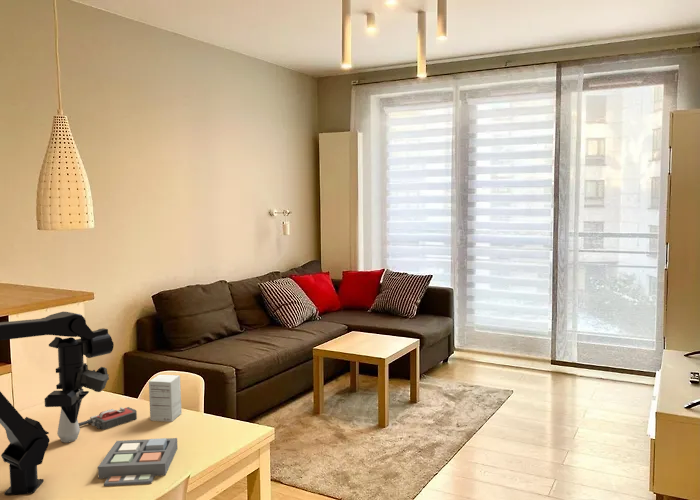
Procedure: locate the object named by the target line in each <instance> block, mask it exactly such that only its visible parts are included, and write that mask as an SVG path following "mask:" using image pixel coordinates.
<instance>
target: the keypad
mask: <svg viewBox="0 0 700 500" xmlns="http://www.w3.org/2000/svg"><path fill="white" fill-rule="evenodd" d="M150 439H151V438H149V439H130V440H128V439H127V440H124V439H123V440H116V441H115V442H114V444H113V445H112V446H111V448H110V449H109V450H108V452H107V454H106V455H105V457H103V459H102V461H101V462H100V463H99V464H98V466H97V473H98V474H97V476H98V480H102V479H105V481H104V483H103V486H104V487H109V486H126V485H128V486H131V485H146V484H147V485H149V484H152V483H153V481H154V479H155V477H157V476H167V473H168V471H169V469H170V466H171V464H172V462H173V459H174V457H175V455H176V452H177V450H178V438H177V437H175V438H174V437H170V438H169V437H168V438H167V446H166V448H165V450H148V451H146V445H147V443H148V441H149V440H150ZM123 443H140V449H139V451H127V452H118V450H119V449H120V447H121V446H122V444H123ZM157 452H161V461H155V462H139V460H140V459H141V457H142V455H143V453H157ZM117 454H133V460H132V462H131V463H115V464H110V462H111V460H112V459H113V458H114V456H115V455H117Z"/></svg>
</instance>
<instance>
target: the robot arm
mask: <svg viewBox="0 0 700 500" xmlns="http://www.w3.org/2000/svg"><path fill="white" fill-rule="evenodd" d="M41 336H55V337H54V339H53V340H52V341H50V343H49V344H48V347H49V348H52V349H53V348H54V349H57V356H58V357H57V360H58V366H57V367H56V368H55V374H58V381H59V382H58V383H57V384H56V386H55V387H56V388H55V389H56V390H53V391H52V392H51V393H49V394H48V395H47V396H46V397H44V407H45V408H57V407H58V408H60V409H61V408H62V410H63V411H64V413H65V414H66V416H67V418H68V419H69V421H70V422H71V423H75V422H76V421H77V420H78V417H79V413H80V408H81V404H82V401H83V399H84V398H85V397H86V396H87V395H88V394H89V393H90V391H89V390H84V388H85V389H90V390H93V392H95V393H101V392H102V391H103V390H104V389H105V388H106V386H107V384H108V380H110V376H109V375H110V374H108V369H107V367H103V366H100V367H98V369H97V370H95V369H93V370H91V369H89V366H88V364H87V362H86V363H85V361H84V356H85V357H86V358H87V359H91V358H96V357H99V356H104V355H109V354H111V353H112V352H113V350H114V341H113V339H112V336H111V334H109V330H108V329H107V328H104V327H103V328H98V329H97V330H92V329H91V328H90V327H89V325H88V324H87V321H86V318H85V317H84V316H83V314H80V313H77V312H76V313H74V312H70V311H60V312H55V313H53V314H50V315H47V316H44V317H41V318H35V319H24V320H13V321H1V322H0V341H7V340H15V339H24V338H32V337H41ZM62 337H66V338H62ZM75 338H77V339H75ZM0 425H1V426H2V428H3V429H4V430H5V434H6V438H7V440H8V442H9V444H8V445H7V447H6V448H5V449H4V451H3V452H2V453H1V454H0V455H1V458H2V460H3V462H4V463H7V464H8V467H9V468H8V469H9V482H10V483H9V484H10V486H9V487H8V488H7V489H5V491H4V496H5V495H7V496H9V495H25V494H27V495H29V494H33V493H35V492H36V490H38V488H39V487H40V486H41V485H42V484H43V483H44V481H45V480H44V478H38V466H39V465H43V461H44V457H45V455H46V451H47V449H48V447H49V443H50V442H51V441H50V438H49V436H48V435H49V434H50V432H49V431H47V430H45V429H44V427H43V425H42V423H40V421H38V420H36V419H33V418H30V417H29V416H25V417H23V416H22V415H21V414H20V412H19V411H18V410H17V409H16V408H15V407H14V406H13V404H12V403H11V402H10V401H9V400H8V399H7V398H6V396H5V395H4V394H3V392H2V391H0Z"/></svg>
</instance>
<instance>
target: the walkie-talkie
mask: <svg viewBox="0 0 700 500" xmlns="http://www.w3.org/2000/svg"><path fill="white" fill-rule="evenodd" d="M137 412H138V411H137V410H136V409H134V408H132V407H130V406H126V407H119V409H113V408H110V409H107V410H104V411H101V412H100V413H99V414H97V415H93V416H90V417H89V419H87V420H85V421H81V422H78V424H79V427H82V426H86V425H91V427H96V428H97V429H98V430H103V431H105V430H108V429H111V428H114V427H117V426H122V425H123V424H126V423H130V422H133V421H136V420H137V419H138V416H137V415H138V413H137Z"/></svg>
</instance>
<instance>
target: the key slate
mask: <svg viewBox="0 0 700 500" xmlns="http://www.w3.org/2000/svg"><path fill="white" fill-rule="evenodd" d="M149 439H150V440H149V441H148V443H147V445H146V451H148V450H165V448H166V446H167V438H166V437H164V438H149Z"/></svg>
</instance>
